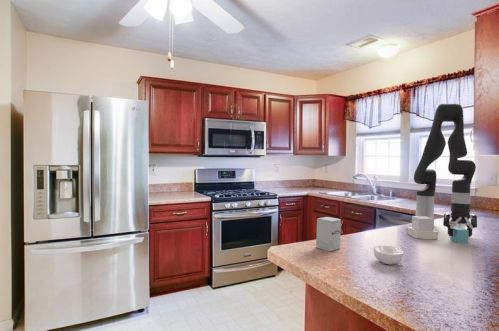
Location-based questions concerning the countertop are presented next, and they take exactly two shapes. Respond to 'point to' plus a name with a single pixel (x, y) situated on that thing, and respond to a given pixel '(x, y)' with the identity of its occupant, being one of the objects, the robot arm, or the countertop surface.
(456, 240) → the teal block
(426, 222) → the grey cube
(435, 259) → the countertop surface
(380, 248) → the white bowl
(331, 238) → the supplement box
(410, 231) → the cream slab
